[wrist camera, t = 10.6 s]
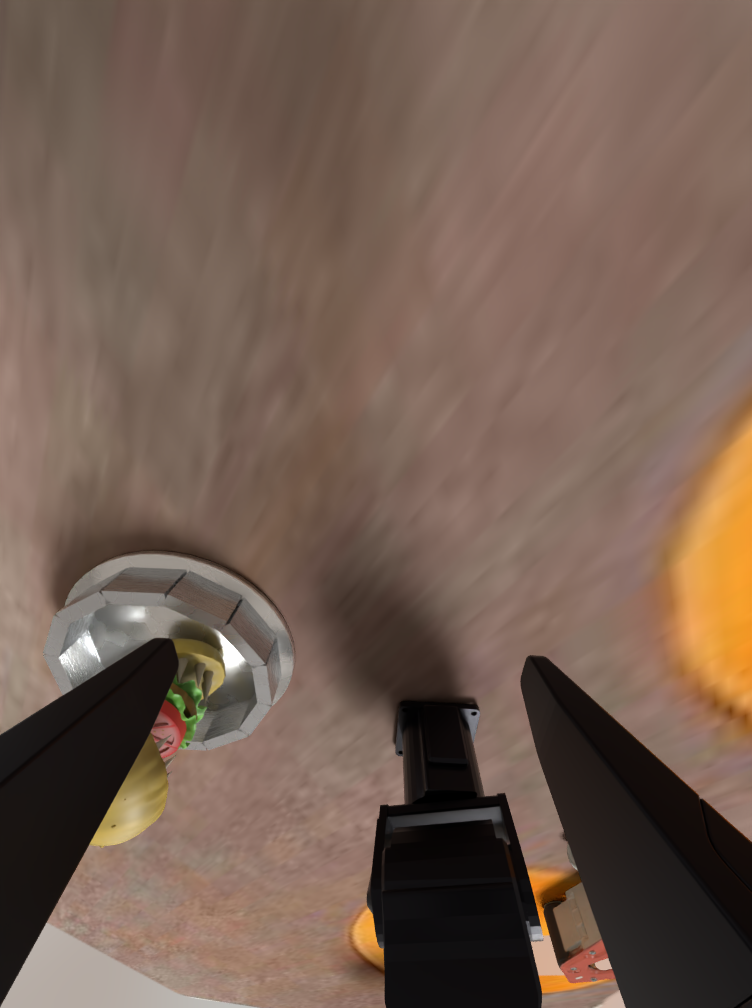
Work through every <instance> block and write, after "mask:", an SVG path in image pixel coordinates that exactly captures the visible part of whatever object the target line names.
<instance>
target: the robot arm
mask: <svg viewBox="0 0 752 1008" xmlns="http://www.w3.org/2000/svg"><path fill="white" fill-rule="evenodd" d="M178 667H179V659H178V656H177V652H176V648H175V645H174V642H173V640H172V639H170V638H153V639H151V640H150V641H148V642H147V643H145V644H143V645H142V646H140V647H139V648H137V649H135V650H134V651H132V652H131V653H129V654H128V655H126V656H124V657H123V658H121V659H120V660H118V661H116V662H115V663H113V664H112V665H110V666H109V667H107V668H105V669H104V670H102V671H101V672H99V673H97V674H96V675H94V676H93V677H91V678H90V679H88V680H86V681H85V682H83V683H82V684H80V685H78V686H77V687H75V688H74V689H72V690H71V691H69V692H67V693H66V694H64V695H63V696H61V697H60V698H58V699H56V700H55V701H53V702H52V703H50V704H48V705H47V706H45V707H44V708H42V709H41V710H39V711H37V712H36V713H34V714H33V715H31V716H29V717H28V718H26V719H25V720H23V721H22V722H20V723H18V724H17V725H15V726H14V727H12V728H10V729H9V730H7V731H6V732H4V733H3V734H1V735H0V1006H1V1004H2V1003H3V1001H4V999H5V997H6V995H7V994H8V992H9V990H10V988H11V986H12V984H13V983H14V981H15V979H16V977H17V975H18V974H19V972H20V970H21V968H22V966H23V964H24V963H25V960H26V958H27V957H28V955H29V954H30V952H31V950H32V948H33V946H34V944H35V942H36V941H37V939H38V937H39V935H40V933H41V931H42V930H43V928H44V926H45V924H46V923H47V921H48V919H49V917H50V915H51V913H52V912H53V910H54V908H55V906H56V904H57V903H58V901H59V899H60V897H61V895H62V893H63V892H64V890H65V888H66V886H67V884H68V882H69V881H70V879H71V877H72V875H73V873H74V872H75V870H76V868H77V866H78V864H79V862H80V861H81V859H82V857H83V855H84V853H85V852H86V850H87V848H88V846H89V844H90V842H91V841H92V839H93V837H94V835H95V833H96V831H97V830H98V828H99V826H100V824H101V822H102V821H103V819H104V817H105V815H106V813H107V811H108V810H109V808H110V806H111V804H112V802H113V800H114V799H115V797H116V795H117V793H118V791H119V790H120V788H121V786H122V784H123V782H124V780H125V779H126V777H127V775H128V773H129V771H130V770H131V768H132V766H133V764H134V762H135V760H136V759H137V757H138V755H139V753H140V751H141V749H142V748H143V746H144V744H145V742H146V740H147V738H148V736H149V734H150V732H151V730H152V728H153V726H154V724H155V721H156V719H157V717H158V715H159V712H160V710H161V708H162V705H163V703H164V701H165V699H166V696H167V694H168V692H169V689H170V687H171V685H172V683H173V680H174V678H175V676H176V673H177V671H178ZM520 682H521V690H522V694H523V698H524V702H525V706H526V710H527V714H528V718H529V722H530V726H531V731H532V735H533V739H534V743H535V747H536V750H537V754H538V757H539V760H540V763H541V766H542V769H543V772H544V775H545V778H546V781H547V784H548V786H549V789H550V792H551V795H552V798H553V801H554V804H555V807H556V809H557V812H558V815H559V818H560V821H561V824H562V827H563V829H564V832H565V835H566V838H567V841H568V844H569V847H570V849H571V852H572V855H573V858H574V861H575V864H576V867H577V870H578V872H579V875H580V878H581V881H582V884H583V887H584V890H585V892H586V895H587V898H588V901H589V904H590V907H591V910H592V912H593V915H594V918H595V921H596V924H597V927H598V930H599V933H600V935H601V938H602V941H603V944H604V947H605V950H606V953H607V955H608V958H609V961H610V964H611V967H612V970H613V973H614V975H615V978H616V981H617V984H618V987H619V990H620V993H621V996H622V998H623V1001H624V1004H625V1007H626V1008H752V842H751V841H750V840H749V839H748V838H747V837H745V836H744V835H743V834H742V833H741V832H740V831H739V830H738V829H736V828H735V827H734V826H733V825H732V824H731V823H730V822H728V821H727V820H726V819H725V818H724V817H723V816H722V815H721V814H720V813H718V812H717V811H716V810H715V809H714V808H713V807H712V806H711V805H710V804H708V803H707V802H706V801H705V800H704V799H700V797H699V795H698V794H697V793H696V792H695V791H694V790H693V789H692V788H691V787H689V786H688V785H687V784H686V783H685V782H684V781H683V780H682V779H681V778H679V777H678V776H677V775H676V774H675V773H674V772H673V771H672V770H671V769H670V768H668V767H667V766H666V765H665V764H664V763H663V762H662V761H661V760H660V759H658V758H657V757H656V756H655V755H654V754H653V753H652V752H651V751H650V750H649V749H647V748H646V747H645V746H644V745H643V744H642V743H641V742H640V741H639V740H637V739H636V738H635V737H634V736H633V735H632V734H631V733H630V732H629V731H627V730H626V729H625V728H624V727H623V726H622V725H621V724H620V723H619V722H618V721H616V720H615V719H614V718H613V717H612V716H611V715H610V714H609V713H608V712H606V711H605V710H604V709H603V708H602V707H601V706H600V705H599V704H598V703H596V702H595V701H594V700H593V699H592V698H591V697H590V696H589V695H588V694H587V693H585V692H584V691H583V690H582V689H581V688H580V687H579V686H578V685H577V684H575V683H574V682H573V681H572V680H571V679H570V678H569V677H568V676H567V675H566V674H564V673H563V672H562V671H561V670H560V669H559V668H558V667H557V666H556V665H554V664H553V663H552V662H551V661H550V660H549V659H548V658H546V657H544V656H534V655H530V656H528V657H527V658H526V661H525V665H524V668H523V672H522V675H521V681H520ZM479 716H480V711H479V707H478V706H477V705H470V704H450V703H430V702H409V701H403V702H401V703H400V704H399V711H398V722H397V734H396V746H395V752H396V754H397V755H398V756H403V773H404V800H405V804H404V805H393V806H389V805H388V804H387V805H380V813H379V819H377V827H376V836H375V846H374V855H373V864H372V873H371V878H370V882H369V887H368V891H367V906H368V908H369V909H370V911H371V912H372V914H373V918H374V925H375V932H376V937H377V942H378V945H379V947H380V948H384V967H385V1005H386V1008H541V1004H542V990H541V984H540V980H539V976H538V971H537V967H536V963H535V959H534V954H533V950H532V946H531V941H533V942H534V941H543V934H542V929H541V925H540V920H539V916H538V911H537V907H536V903H535V899H534V895H533V891H532V887H531V883H530V879H529V876H528V872H527V868H526V865H525V861H524V857H523V854H522V850H521V847H520V844H519V840H518V837H517V833H516V830H515V826H514V823H513V819H512V816H511V812H510V809H509V805H508V802H507V798H506V795H505V793H499V794H497V795H496V796H486V797H485V796H484V791H483V786H482V782H481V777H480V773H479V768H478V763H477V759H476V754H475V750H474V745H473V743H474V738H475V734H476V729H477V725H478V721H479Z"/></svg>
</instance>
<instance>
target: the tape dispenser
mask: <svg viewBox="0 0 752 1008" xmlns="http://www.w3.org/2000/svg"><path fill="white" fill-rule="evenodd" d="M567 854H568V858H569V861H570V863H571V864H572V866H573V867H574V868H575V869H576V870H577V867H576V864H575V861H574V858H573V855H572V852H571V849H570V847H569V844H568V845H567ZM577 871H578V870H577ZM565 894H566V898H567V900H566V901H564V902H560V901H553V902H549V903H546V904H545V905H544V916H545V920H546V923H547V927H548V930H549V934H550V937H551V941H552V945H553V948H554V952H555V955H556V959H557V963H558V965H559V967H560V969H561V970H562V972H563V973H564V974H565V976H566V978H567V979H568V981H569V982H570V983H578V982H594V981H598V980H602V979H616V978H615V975H614V973H613V970H612V969H609V970H599V969H598V968H596V966H595V962H598V961H600V960H604V959H606V958H608V955H607V953H606V950H605V947H604V944H603V941H602V938H601V935H600V933H599V930H598V927H597V924H596V921H595V918H594V915H593V912H592V910H591V907H590V904H589V901H588V898H587V895H586V892H585V890H584V887H583V884H582V882H581V883H579V884H578V885H576V886H574V887H572V888H571V889H569V890H567V891H566V892H565Z"/></svg>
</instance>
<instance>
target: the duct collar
mask: <svg viewBox="0 0 752 1008" xmlns="http://www.w3.org/2000/svg"><path fill="white" fill-rule="evenodd" d="M153 638H170V639H193V640H198V641H202V642H204V643H207V644H209V645H211V646H213V647H214V648H215V649H216V650H218V651H219V652H220V654H221V656H222V657H223V659H224V663H225V671H226V676H225V678H224V681H223V684H222V685H221V686H220V687H219V688H217V689H216V690H215V691H214V692H213V693H212V694H210V695H209V696H208V698H207V701H206V704H205V702H204V699H202V700H200V702H199V704H198V705H202V706H205V707H207V709H206V710H205V712H204V716H203V717H202V719H201V720H200V721H199V722H198V723H196V731H195V734H194V736H193V739H192V740H191V741H186V742H187V743H190V745H189V746H188V747H186V748H185V749H188V750H207V749H208V750H211V749H214V748H217V747H219V746H222V745H225V744H228V743H231V742H234V741H237V740H240V739H243V738H246V737H248V736H249V735H251V733H252V732H253V731H254V729H255V728H256V727H257V725H258V724H259V723H260V721H261V720H262V719H263V717H264V716H265V715H266V713H267V712H268V711H269V709H270V708H271V706H273V705H274V704H275V703H276V702H277V701H278V700H279V699H280V698H281V696H282V695H283V694H284V692H285V690H286V689H287V687H288V685H289V682H290V679H291V676H292V673H293V669H294V663H295V649H294V643H293V639H292V636H291V633H290V630H289V628H288V626H287V624H286V622H285V620H284V618H283V616H282V615H281V614H280V612H279V611H278V609H277V608H276V606H275V605H274V604H273V603H272V602H271V601H270V600H269V599H268V598H267V596H266V595H265V594H263V593H262V592H261V591H260V590H259V589H258V588H256V587H255V586H254V585H253V584H251V583H250V582H249V581H247V580H246V579H244V578H243V577H241V576H240V575H238V574H236V573H234V572H233V571H231V570H229V569H227V568H225V567H223V566H221V565H218V564H216V563H214V562H211V561H209V560H206V559H202V558H199V557H196V556H193V555H188V554H183V553H178V552H169V551H139V552H132V553H127V554H123V555H119V556H116V557H113V558H111V559H109V560H106V561H104V562H102V563H101V564H99V565H98V566H96V567H95V568H93V569H92V570H90V571H89V572H87V573H86V574H85V575H84V576H83V577H82V578H81V579H80V580H79V581H78V582H77V583H76V584H75V585H74V587H73V588H72V590H71V591H70V593H69V595H68V598H67V600H66V602H65V607H63V608H62V609H61V610H60V611H58V612H57V613H56V614H55V615H54V617H53V620H52V624H51V627H50V631H49V634H48V637H47V641H46V644H45V648H44V651H43V653H44V655H43V656H44V658H45V660H46V662H47V664H48V666H49V668H50V670H51V672H52V674H53V676H54V678H55V680H56V682H57V684H58V686H59V688H60V690H61V693H62V694H63V695H64V694H66V693H67V692H69V691H71V690H72V689H74V688H75V687H77V686H78V685H80V684H82V683H83V682H85V681H86V680H88V679H90V678H91V677H93V676H94V675H96V674H97V673H99V672H101V671H102V670H104V669H105V668H107V667H109V666H110V665H112V664H113V663H115V662H116V661H118V660H120V659H121V658H123V657H124V656H126V655H128V654H129V653H131V652H132V651H134V650H135V649H137V648H139V647H140V646H142V645H143V644H145V643H147V642H148V641H150V640H151V639H153ZM179 749H183V748H179Z"/></svg>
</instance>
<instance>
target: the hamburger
mask: <svg viewBox="0 0 752 1008" xmlns="http://www.w3.org/2000/svg"><path fill="white" fill-rule="evenodd" d="M172 640H173V642H174V645H175V648H176V652H177V656H178V659H179V667H178V671H177V673H176V676H175V678H174V680H173V683H172V685H171V687H170V689H169V692H168V694H167V696H166V699H165V701H164V703H163V705H162V708H161V710H160V712H159V715H158V717H157V719H156V721H155V724H154V726H153V728H152V730H151V732H150V734H149V736H148V738H147V740H146V742H145V744H144V746H143V748H142V749H141V751H140V753H139V755H138V757H137V759H136V760H135V762H134V764H133V766H132V768H131V770H130V771H129V773H128V775H127V777H126V779H125V780H124V782H123V784H122V786H121V788H120V790H119V791H118V793H117V795H116V797H115V799H114V800H113V802H112V804H111V806H110V808H109V810H108V811H107V813H106V815H105V817H104V819H103V821H102V822H101V824H100V826H99V828H98V830H97V831H96V833H95V835H94V837H93V839H92V841H91V842H90V844H89V845H93V846H100V847H101V848H103V847H104V846H110V845H116V844H120V843H122V842H125V841H127V840H129V839H131V838H133V837H135V836H137V835H138V834H140V833H141V832H142V831H144V830H145V829H146V828H147V827H148V826H150V825H151V824H152V823H154V822H155V821H156V820H157V819H158V818H159V816H160V815H161V814H162V812H163V810H164V808H165V802H166V798H167V791H168V780H167V778H168V776H169V775H170V774H171V772H172V771H171V772H170V773H168V774H167V771H166V768H167V767H168V766H169V764H170V763H171V762H172V760H173V759H174V758H175V757H176V756H174V757H172V758H171V759H169V760H167V761H166V762H164V761H163V759H162V758H165V757H167V756H170V755H171V754H173V753H174V752H175V751H176V750H177V749H179V748H183V749H185V748H186V747H188V746H189V745H190V743H187V742H186V741H191V740H192V739H193V736H194V734H195V731H196V723H198V722H199V721H200V720H201V719H202V717H203V716H204V712H205V710H206V709H207V707H205V706H202V705H198V704H199V702H200V700H202V699H204V702H205V704H206V701H207V698H208V696H209V695H210V694H212V693H213V692H214V691H215V690H216V689H217V688H219V687H220V686H221V685H222V684H223V681H224V678H225V676H226V671H225V663H224V659H223V657H222V656H221V654H220V652H219V651H218V650H216V649H215V648H214V647H213V646H211V645H209V644H207V643H204V642H202V641H198V640H193V639H172Z"/></svg>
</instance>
